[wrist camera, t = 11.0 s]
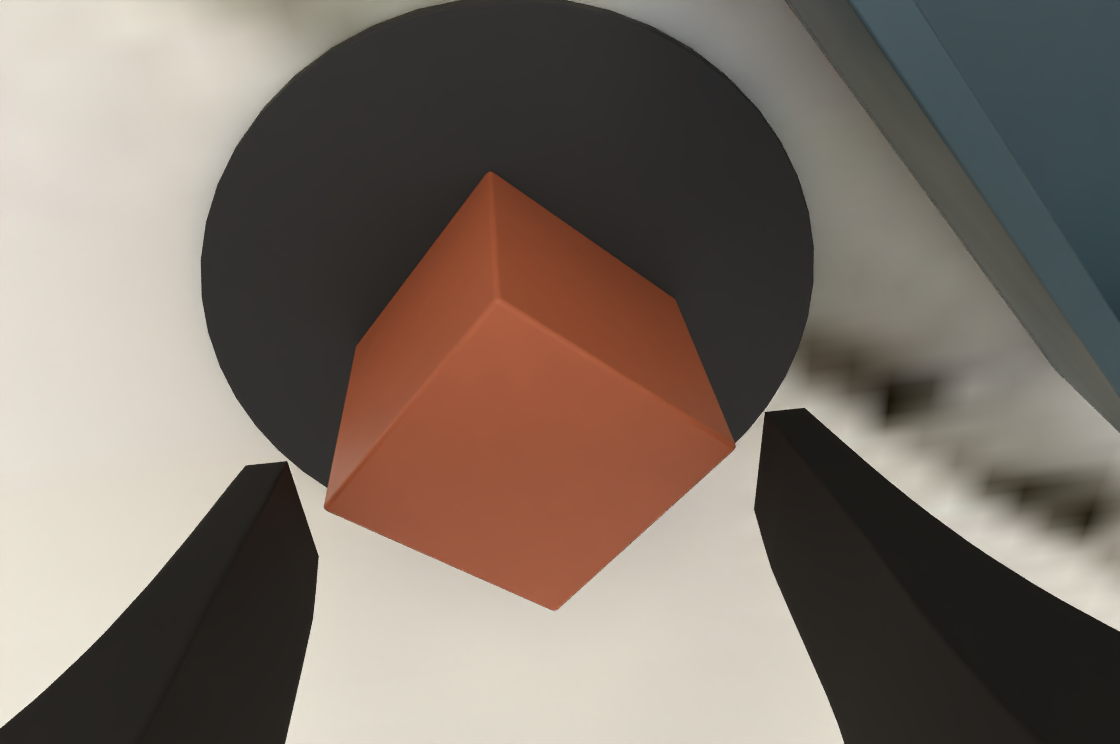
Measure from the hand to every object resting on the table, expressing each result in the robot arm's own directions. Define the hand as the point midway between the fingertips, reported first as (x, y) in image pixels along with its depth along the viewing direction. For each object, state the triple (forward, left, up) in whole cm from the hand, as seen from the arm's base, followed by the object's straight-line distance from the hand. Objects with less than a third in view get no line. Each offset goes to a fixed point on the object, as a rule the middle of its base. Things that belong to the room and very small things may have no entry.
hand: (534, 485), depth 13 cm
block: (0, 0, -5) cm, 5 cm away
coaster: (0, 0, -5) cm, 5 cm away
